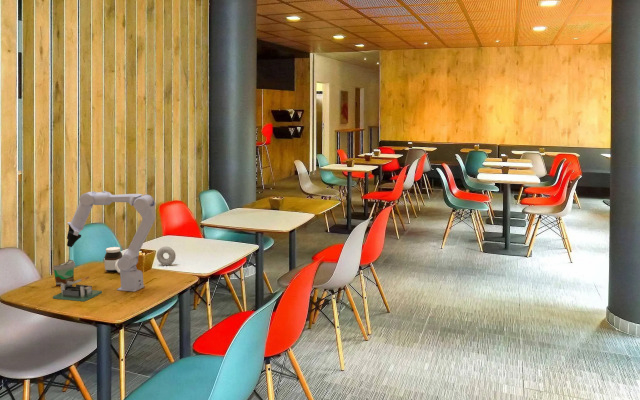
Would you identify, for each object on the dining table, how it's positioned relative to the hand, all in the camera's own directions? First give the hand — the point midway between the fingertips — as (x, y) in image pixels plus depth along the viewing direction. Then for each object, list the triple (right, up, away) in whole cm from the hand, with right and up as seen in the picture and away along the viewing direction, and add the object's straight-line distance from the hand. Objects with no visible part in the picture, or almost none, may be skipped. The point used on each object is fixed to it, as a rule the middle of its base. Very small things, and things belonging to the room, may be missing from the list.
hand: (69, 242), depth 270 cm
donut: (+33, -15, +42) cm, 56 cm away
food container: (-5, -20, +11) cm, 23 cm away
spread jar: (+11, -17, +31) cm, 37 cm away
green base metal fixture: (+7, -23, -8) cm, 25 cm away
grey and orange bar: (+7, -17, -9) cm, 20 cm away
